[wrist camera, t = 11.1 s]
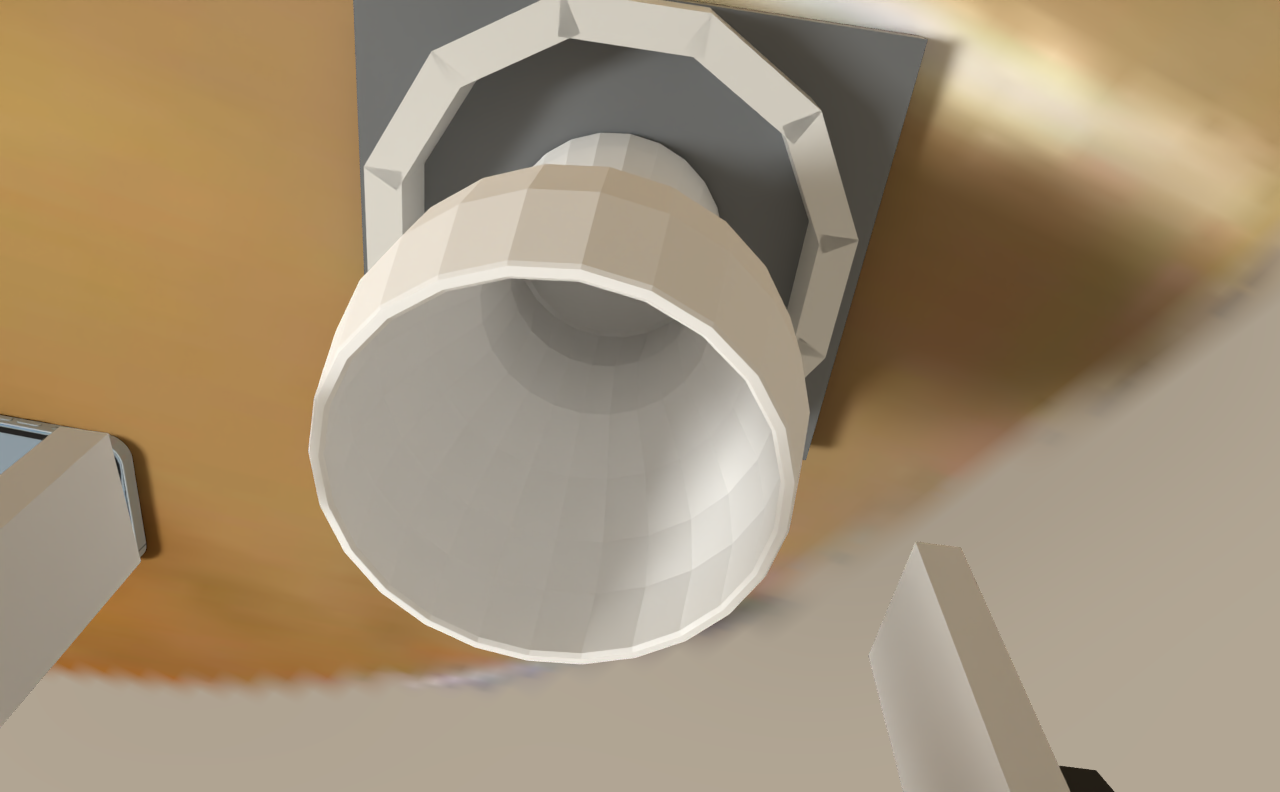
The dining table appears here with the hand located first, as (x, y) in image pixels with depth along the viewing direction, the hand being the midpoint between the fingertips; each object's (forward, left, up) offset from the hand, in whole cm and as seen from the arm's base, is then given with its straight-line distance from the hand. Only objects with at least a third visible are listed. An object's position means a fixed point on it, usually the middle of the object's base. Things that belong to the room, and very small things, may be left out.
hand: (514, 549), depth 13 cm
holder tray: (0, 0, -18) cm, 18 cm away
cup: (0, 0, -17) cm, 17 cm away
